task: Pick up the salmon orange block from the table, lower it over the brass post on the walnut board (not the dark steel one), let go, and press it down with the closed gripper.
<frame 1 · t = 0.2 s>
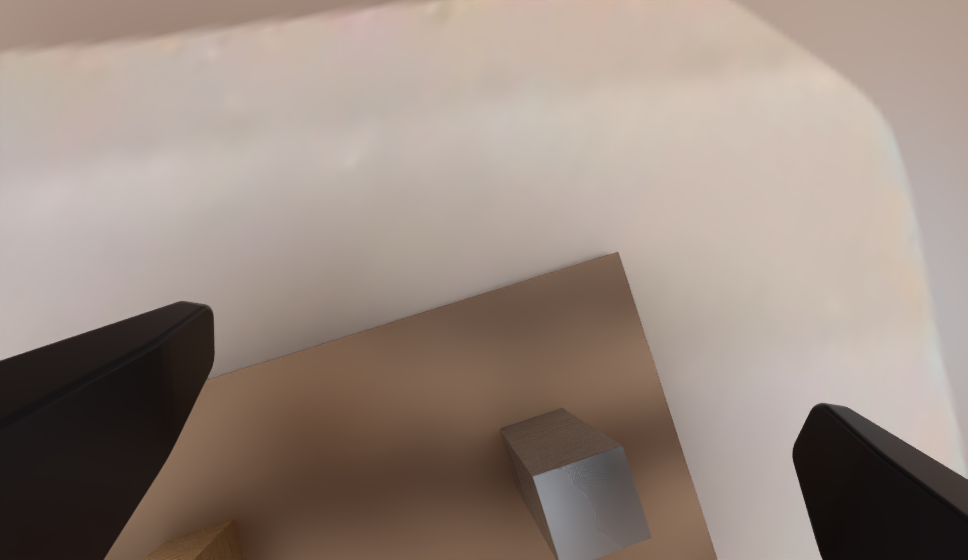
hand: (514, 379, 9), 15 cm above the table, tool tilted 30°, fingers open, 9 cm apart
brass post: (220, 551, 22), resting on board
board: (382, 496, 23), on the table
steel post: (535, 443, 24), resting on board
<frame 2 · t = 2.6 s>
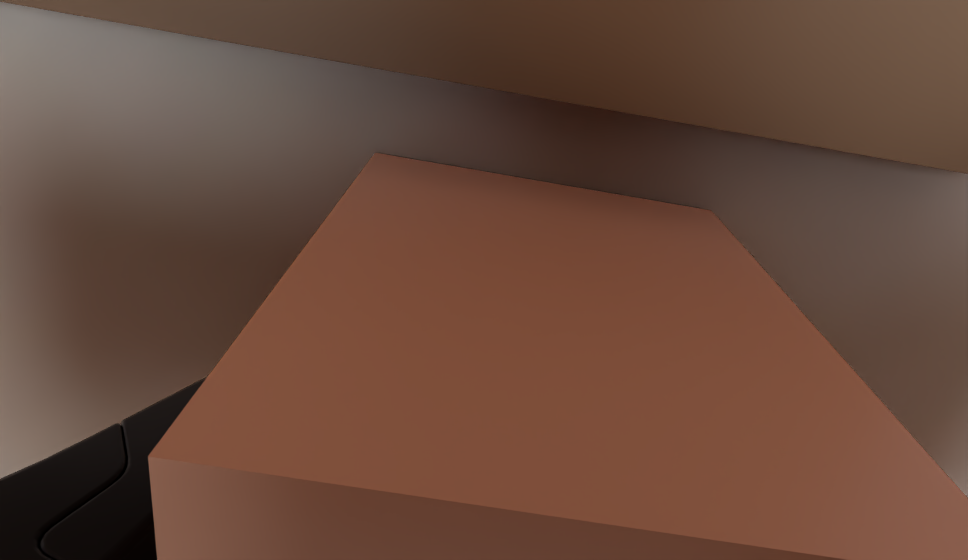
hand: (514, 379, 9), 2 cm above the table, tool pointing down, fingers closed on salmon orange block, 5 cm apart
salmon orange block: (513, 327, 11), on the table, touching gripper
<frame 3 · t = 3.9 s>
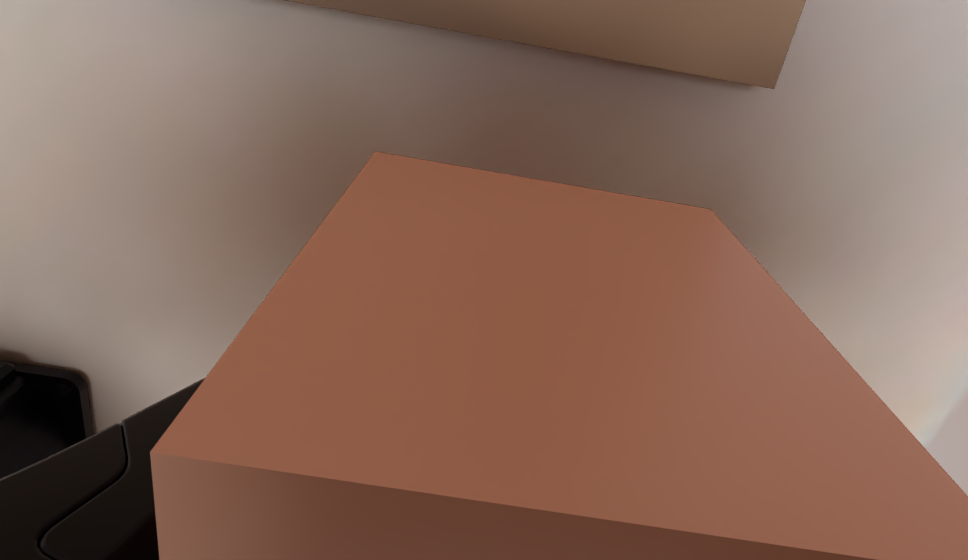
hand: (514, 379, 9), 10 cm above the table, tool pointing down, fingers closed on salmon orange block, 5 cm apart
salmon orange block: (513, 326, 11), point 8 cm above the table, touching gripper
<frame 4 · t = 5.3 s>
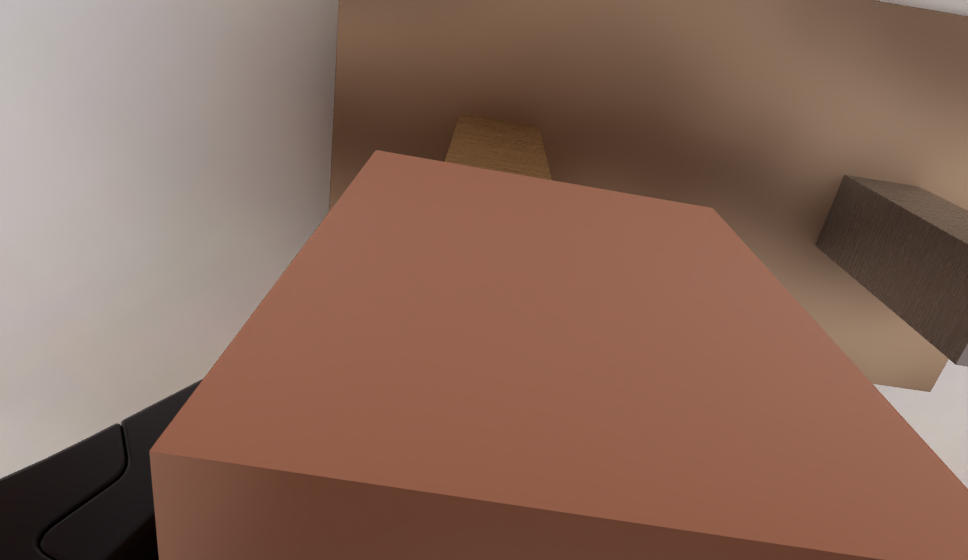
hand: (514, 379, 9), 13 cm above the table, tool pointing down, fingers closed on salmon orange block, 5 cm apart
brass post: (493, 149, 20), resting on board
salmon orange block: (514, 325, 11), point 11 cm above the table, touching gripper
board: (672, 177, 21), on the table
steel post: (847, 204, 21), resting on board
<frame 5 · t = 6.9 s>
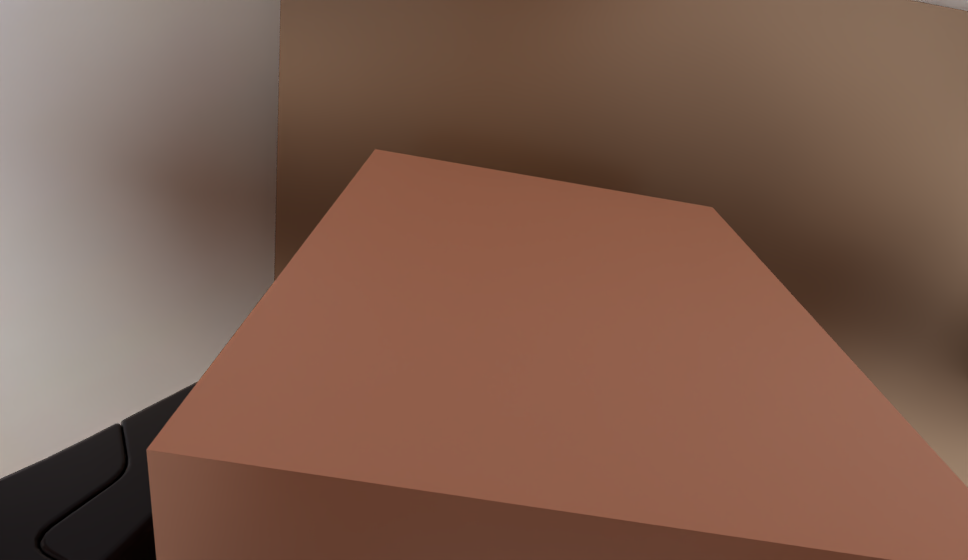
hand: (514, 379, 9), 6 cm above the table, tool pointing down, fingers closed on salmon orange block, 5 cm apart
salmon orange block: (514, 325, 11), point 4 cm above the table, touching gripper
board: (765, 278, 14), on the table
when the fingers open (4 cm above the table, at t = 8.1 s): salmon orange block stays where it is, resting on brass post.
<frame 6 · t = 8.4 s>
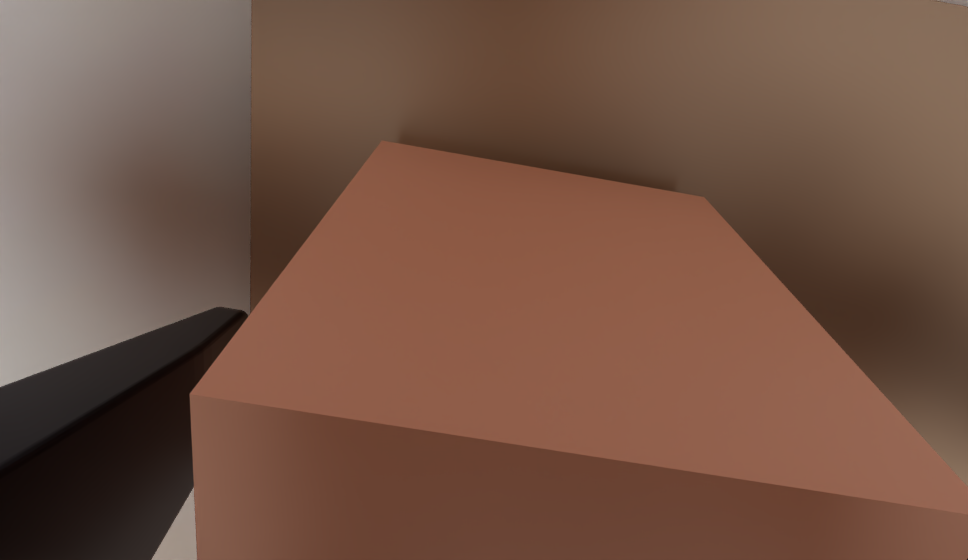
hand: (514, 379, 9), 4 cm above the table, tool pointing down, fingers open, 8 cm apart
salmon orange block: (513, 310, 11), point 2 cm above the table, touching brass post
board: (789, 307, 13), on the table
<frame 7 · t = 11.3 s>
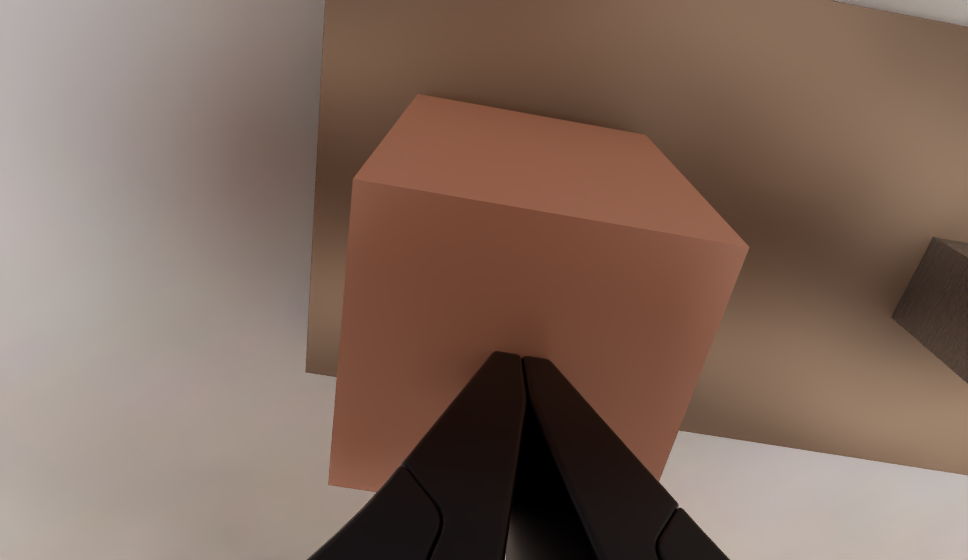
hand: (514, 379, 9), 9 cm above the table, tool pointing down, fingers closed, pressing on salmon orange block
salmon orange block: (511, 222, 15), point 2 cm above the table, touching brass post, gripper
board: (721, 231, 17), on the table
steel post: (926, 267, 18), resting on board
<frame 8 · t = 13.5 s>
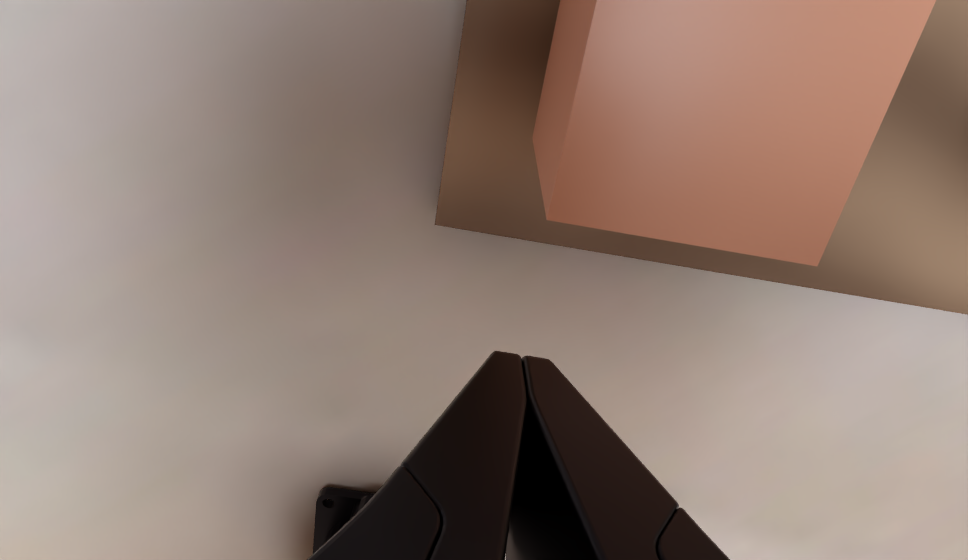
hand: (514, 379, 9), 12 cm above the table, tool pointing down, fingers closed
salmon orange block: (648, 58, 16), point 2 cm above the table, touching brass post
board: (827, 86, 19), on the table
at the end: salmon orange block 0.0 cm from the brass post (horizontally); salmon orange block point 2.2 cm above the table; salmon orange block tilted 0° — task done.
